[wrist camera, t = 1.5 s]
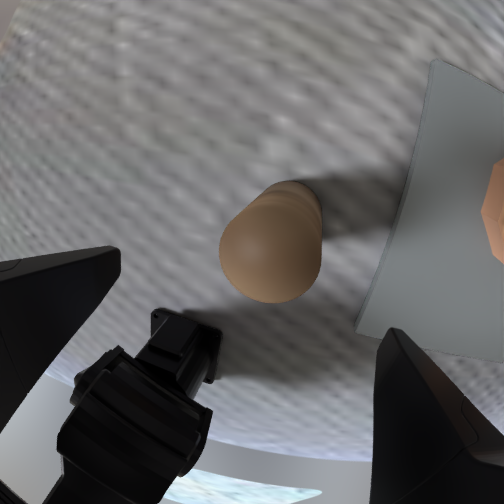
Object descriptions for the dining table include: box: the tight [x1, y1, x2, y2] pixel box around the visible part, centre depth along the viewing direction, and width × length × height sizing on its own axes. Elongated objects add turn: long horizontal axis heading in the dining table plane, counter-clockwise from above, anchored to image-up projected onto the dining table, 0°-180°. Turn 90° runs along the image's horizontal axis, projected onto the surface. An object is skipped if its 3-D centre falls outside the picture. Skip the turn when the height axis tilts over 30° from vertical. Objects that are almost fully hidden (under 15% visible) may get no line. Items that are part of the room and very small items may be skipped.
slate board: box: [354, 59, 504, 363], centre depth 17 cm, size 20×16×1 cm
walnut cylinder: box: [219, 181, 322, 303], centre depth 17 cm, size 4×4×8 cm
